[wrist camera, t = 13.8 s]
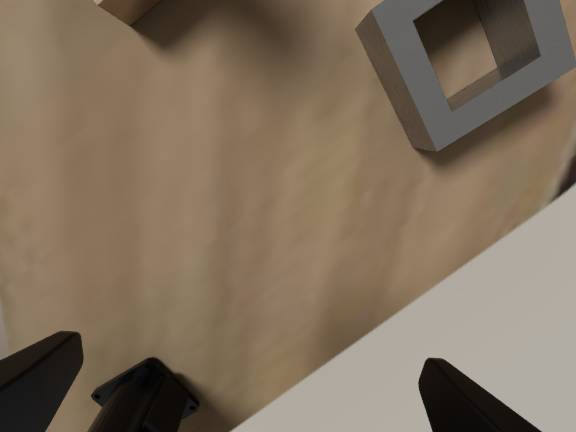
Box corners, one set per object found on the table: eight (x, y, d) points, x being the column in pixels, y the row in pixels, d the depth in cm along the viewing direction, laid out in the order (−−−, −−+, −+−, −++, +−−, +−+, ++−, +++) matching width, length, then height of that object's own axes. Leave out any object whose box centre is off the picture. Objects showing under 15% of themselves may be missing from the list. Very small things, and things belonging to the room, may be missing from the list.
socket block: (412, 147, 19) (437, 151, 16) (355, 28, 17) (371, 9, 14) (528, 75, 18) (577, 66, 15) (483, -63, 15) (530, -104, 13)
